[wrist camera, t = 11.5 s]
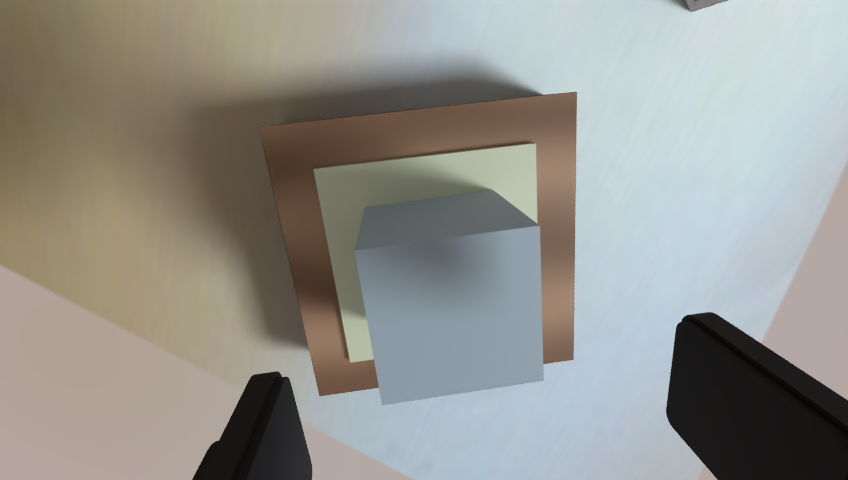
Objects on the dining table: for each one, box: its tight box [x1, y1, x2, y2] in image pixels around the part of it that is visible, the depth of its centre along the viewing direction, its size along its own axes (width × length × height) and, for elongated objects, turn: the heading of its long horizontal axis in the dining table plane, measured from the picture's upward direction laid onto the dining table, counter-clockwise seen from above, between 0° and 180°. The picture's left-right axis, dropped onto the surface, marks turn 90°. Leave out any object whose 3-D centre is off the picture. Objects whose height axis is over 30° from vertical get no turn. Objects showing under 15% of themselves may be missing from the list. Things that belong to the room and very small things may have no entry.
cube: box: [355, 190, 544, 405], centre depth 17 cm, size 6×6×6 cm
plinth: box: [259, 92, 577, 396], centre depth 22 cm, size 14×14×4 cm
